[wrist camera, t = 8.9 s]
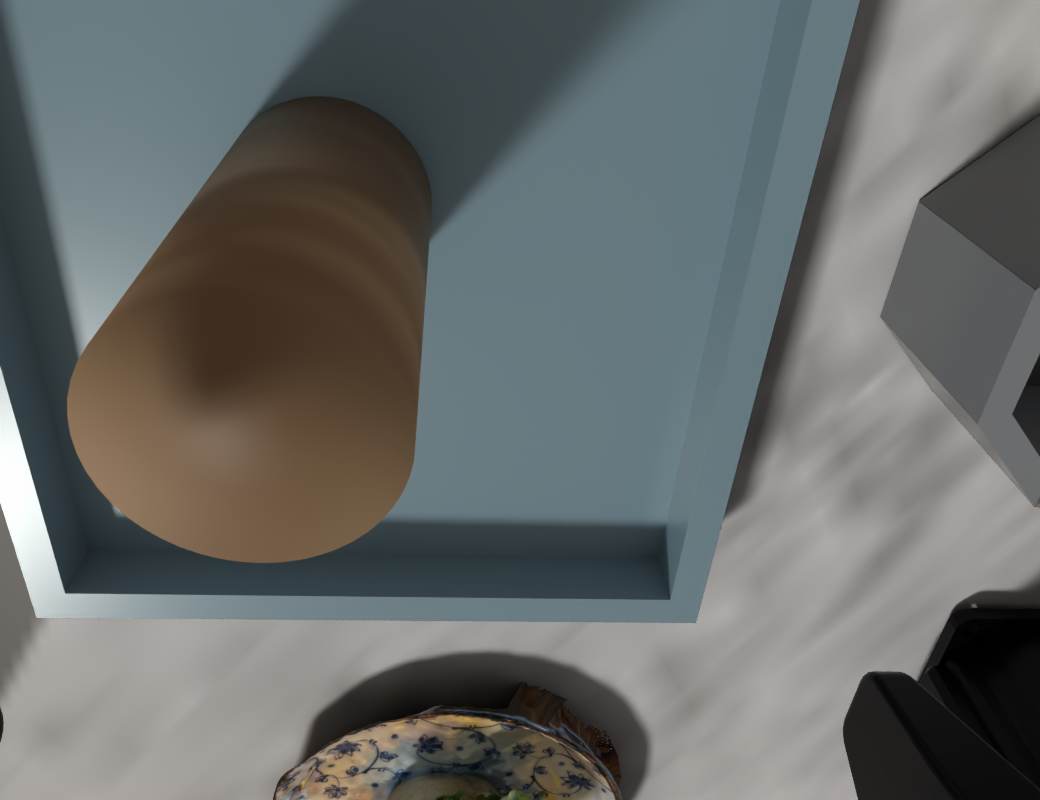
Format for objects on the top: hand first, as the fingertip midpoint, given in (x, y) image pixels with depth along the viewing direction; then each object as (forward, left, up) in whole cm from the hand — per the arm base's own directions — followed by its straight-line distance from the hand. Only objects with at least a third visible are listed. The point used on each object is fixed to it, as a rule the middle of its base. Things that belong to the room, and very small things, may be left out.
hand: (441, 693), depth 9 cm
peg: (+2, -1, -11) cm, 11 cm away
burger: (-1, +20, -12) cm, 23 cm away
